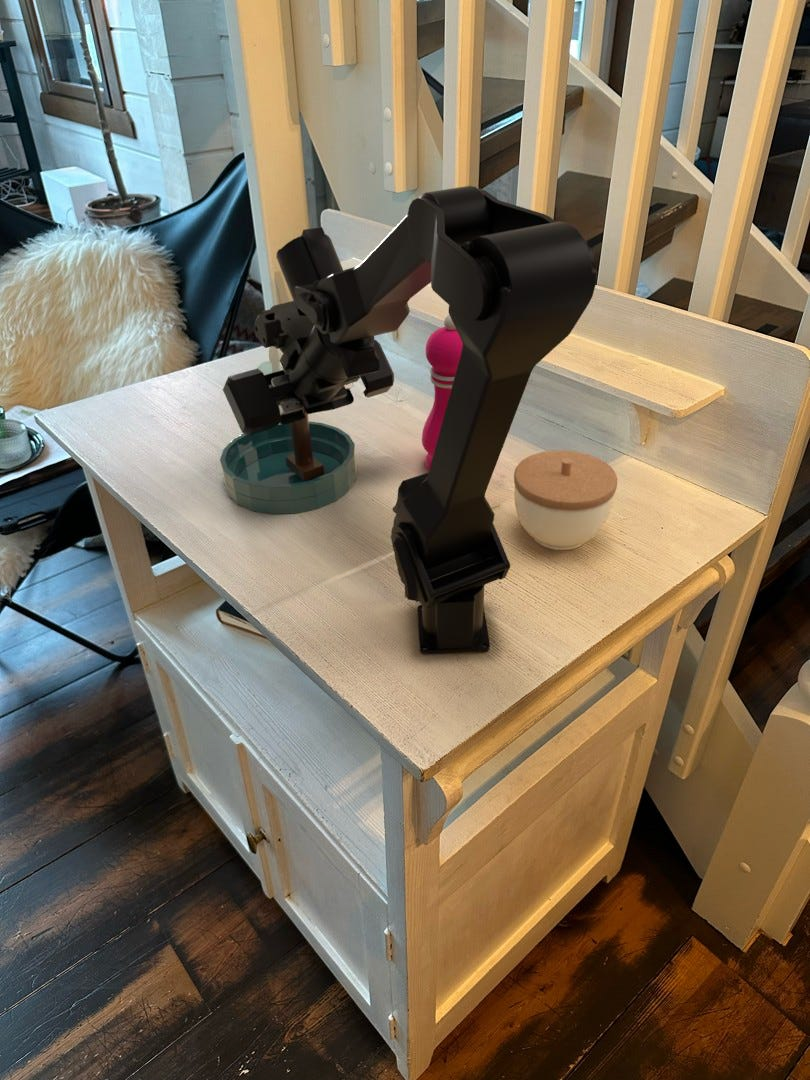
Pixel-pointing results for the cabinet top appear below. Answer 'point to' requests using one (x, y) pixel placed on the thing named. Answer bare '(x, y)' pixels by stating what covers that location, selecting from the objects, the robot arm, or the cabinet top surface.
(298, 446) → the brown wooden post
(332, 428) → the bowl
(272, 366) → the pacifier
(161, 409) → the cabinet top surface
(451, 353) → the pepper mill
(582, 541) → the trinket box
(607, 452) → the cabinet top surface
